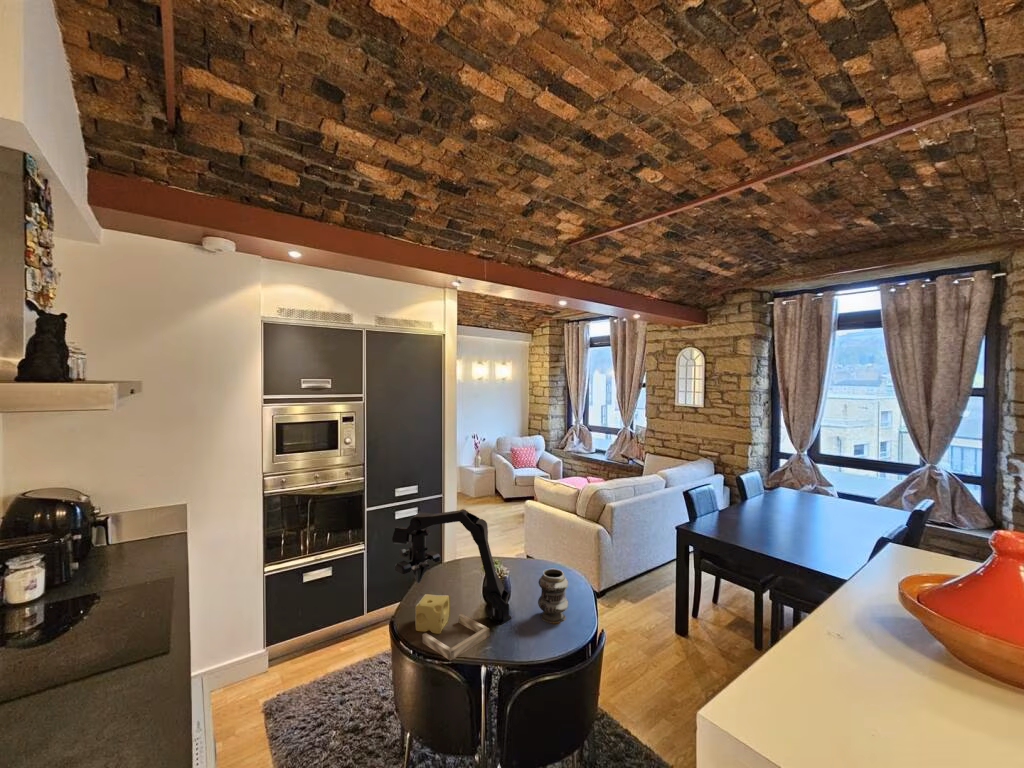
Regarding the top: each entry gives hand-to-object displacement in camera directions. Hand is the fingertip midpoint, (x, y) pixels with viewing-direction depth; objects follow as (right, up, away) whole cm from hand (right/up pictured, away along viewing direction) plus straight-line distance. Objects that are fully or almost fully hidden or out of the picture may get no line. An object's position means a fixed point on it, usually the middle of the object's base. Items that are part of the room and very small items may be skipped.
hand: (418, 582), depth 179 cm
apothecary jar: (+55, -13, -3) cm, 57 cm away
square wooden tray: (+18, -13, -18) cm, 28 cm away
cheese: (+7, -13, -9) cm, 17 cm away
